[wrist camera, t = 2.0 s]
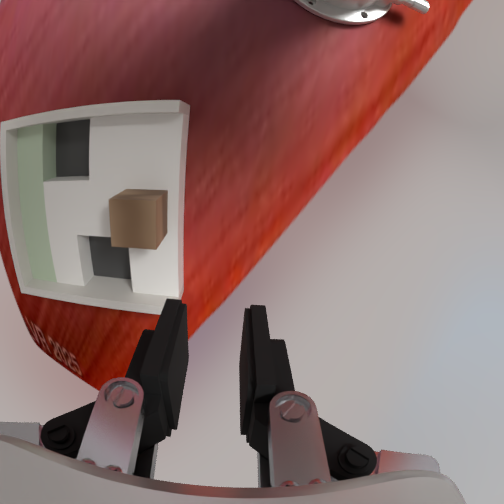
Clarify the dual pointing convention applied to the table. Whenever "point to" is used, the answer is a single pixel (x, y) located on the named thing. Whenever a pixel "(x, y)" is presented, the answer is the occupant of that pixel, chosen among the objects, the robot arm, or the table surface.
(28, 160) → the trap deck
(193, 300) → the table surface
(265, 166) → the table surface
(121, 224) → the walnut block
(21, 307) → the table surface
